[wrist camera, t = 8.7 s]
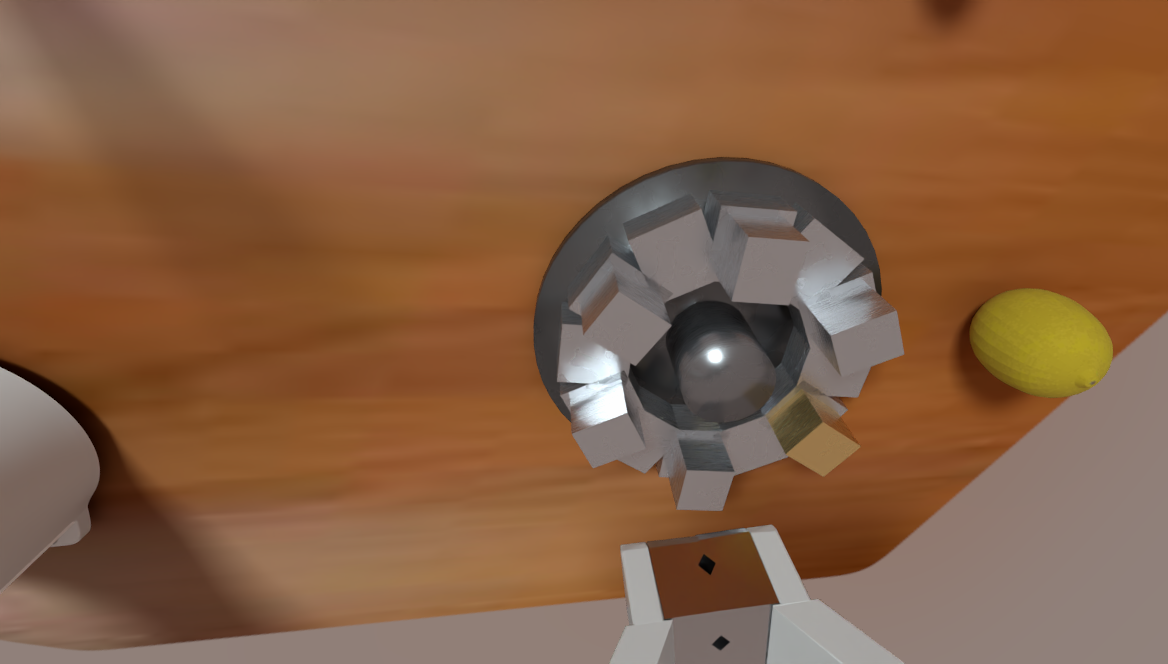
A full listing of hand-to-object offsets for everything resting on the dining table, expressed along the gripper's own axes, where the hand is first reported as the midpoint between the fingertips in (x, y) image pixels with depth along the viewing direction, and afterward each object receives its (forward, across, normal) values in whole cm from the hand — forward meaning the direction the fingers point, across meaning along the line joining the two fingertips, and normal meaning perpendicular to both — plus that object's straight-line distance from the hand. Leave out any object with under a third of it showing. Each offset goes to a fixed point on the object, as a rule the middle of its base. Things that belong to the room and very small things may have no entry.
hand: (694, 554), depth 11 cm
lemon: (+22, -24, +9) cm, 34 cm away
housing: (+22, -6, +8) cm, 25 cm away
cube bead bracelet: (+21, -6, +8) cm, 24 cm away
